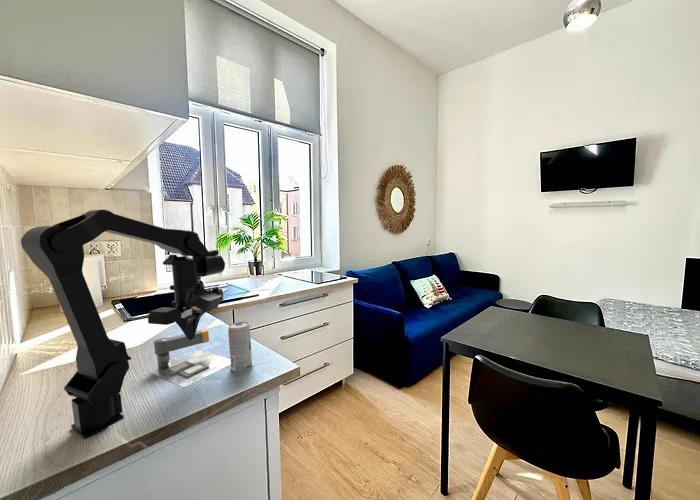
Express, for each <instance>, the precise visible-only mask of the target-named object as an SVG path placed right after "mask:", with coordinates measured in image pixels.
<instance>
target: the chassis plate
mask: <svg viewBox="0 0 700 500" xmlns="http://www.w3.org/2000/svg"><path fill="white" fill-rule="evenodd" d="M156 359H157V368H155V369H152V370H150V371H148V373H150V374H153V375H154V376H156V377H159V378H161V379H164V380H165V381H167V382H171V384H174V385H177V386H179V387H182V388H183V389H184V388H186V387H188V386H190V385H192V384H194V383H196V382H198V381H200V380H202V379H204V378H206V377H208V376H210V375H212V374H214V373H216V372H218V371H220V370H222V369H224V368H226V367H228V366H231V362H230V358H227V357H224V356H221V355H218V354H215V353H212V352H210V351H205V350H203V349H201V350H198V351H195V352H193V353H191V354H189V355H186V356H183V357H181V358H178V359H177V360H174V361H172V362H171V358H170V352H168V353H165V354H161V355H156ZM185 361H187V362H190V363H193V364H195V365H196V364H198V363H202V364H205V365H208V366H209V368H207V369H205V370H203V371H201V372H199V373H197V374H195V375H193V376H191V377H189V378H186V377H183V376H181V375H179V374H176V375H174V376H171V375H169V374H167V373H164V370H166V369H168V368H171V367H173V366H175V365H178V364H180V363H183V362H185Z"/></svg>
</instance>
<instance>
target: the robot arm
mask: <svg viewBox="0 0 700 500" xmlns="http://www.w3.org/2000/svg"><path fill="white" fill-rule="evenodd" d="M105 232H106V233H109V234H113V235H117V236H121V237H124V238H129V239H130V238H131V239H134V240H137V241H142V242H146V243H150V244H153V245H156V246H157V247H158V248H159V249H162V250H164V251H166V252H169V253H171V254H169V256H168V257H167V258H166V259H165V260H164V261H162V265H164V266H165V265H166V266H171V268H172V281H173V284H171V285H169V290H170V291H173V292H174V300H173V301H171V302H170V303H171V307H170V306H169V307H166V306H164V307H159V308H156V309H153V310H150V311H149V313H148V314H147V323H148V324H150V325H151V324H153V325H162V326H163V325H164V326H167V325H172V324H174V323H176V324H177V326H178V327H179V328H180V329H181V331H182V332H183V334H185V335H186V337H187V338H188V340H192V339H194V337H195V333H196V331H198V329H197V328H198V326H199V322H200V321H201V320H200V319H201V318H202V317H203V316H204V315H205V313H209V312H211V311H212V310H214V309H218V308H219V305H220V304H223V301H224V292H223V288H222V287H219V286H217V287H214V288H212V289H205V284H204V282H200V277H201V278H204V277H208V276H212V275H217V274H221V273H223V272H224V270H225V268H226V261H225V260H224V258H223V256H222V255H221V254H220V253H219V250H218V249H210V250H208V249H207V247H206V246H205V245H204V243H203V242H202V241H201V239H200V237H199V234H198V233H197V232H195V231H194V230H193V231H192V230H186V229H184V230H183V229H175V228H164V227H161V226H158V225H155V224H151V223H148V222H145V221H141V220H137V219H135V218H132V217H128V216H124V215H121V214H118V213H115V212H113V211H112V210H109V209H92V210H88V211H86V212H85V213H83V214H81V215H78V216H75V217H73V218H70V219H65V220H64V221H61V222H58V223H55V224H53V225H46V226H45V225H44V226H43V225H41V226H35V227H32V228H30V229H28V230H27V231H26V232H25V233H24V234H23V236H22V237H21V239H20V243H21V247H22V250H23V252H25V254H26V255H27V257H28V258H29V259H30V260H31V262H32V264H34V265H35V266H36V267H37V268H38V269H39V270H40V271H41V272H42V274H43V275H45V276H46V277H47V278H48V280H49V282H50V284H51V287H52V289H53V291H54V294H55V296H56V298H57V301H58V302H59V305H60V308H61V310H62V312H63V315H64V317H65V319H66V321H67V324H68V326H69V328H70V330H71V333H72V336H73V337H74V340H75V343H76V346H77V350H76V355H75V363H76V369H77V371H76V372H75V373H74V374H73V376H71V378H70V379H69V380H68V382H67V383H66V384H65V386H64V387H63V390H64V391H65V392H66V394H67V395H68V396H70V397H74V398H72V399H71V407H72V414H73V422H74V423H72V424H71V429H72V430H73V431H74V432H75V433H77V434H78V435H79V436H80V437H81V438H82V439H88V438H89V437H91V436H93V435H95V434H98V433H99V432H101V431H103V430H105V429H107V428H108V427H109V426H112V425H113V424H115V423H117V422H119V421H121V420H123V419H124V418H125V417H124V416H125V415H123V414H122V413H123V404H122V395H121V392H122V388H123V383H124V380H125V376H126V375H127V373H128V372H129V370H130V364H129V363H130V362H129V361H131V360H132V357H131V356H129V354H128V352H127V346H126V343H125V342H124V341H121V340H116V339H112V338H109V336H108V334H107V332H106V329H105V326H104V323H103V321H102V319H101V316H100V313H99V310H98V309H97V306H96V304H95V300H94V299H93V296H92V293H91V291H90V289H89V288H90V287H89V285H88V283H87V280H86V279H85V278H86V277H85V276H84V272H83V267H84V261H85V251H84V245H86V244H88V243H90V242H92V241H94V240H95V239H97V238H98V237H99V236H101V235H102V234H103V233H105ZM179 254H180V256H178V255H179Z"/></svg>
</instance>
